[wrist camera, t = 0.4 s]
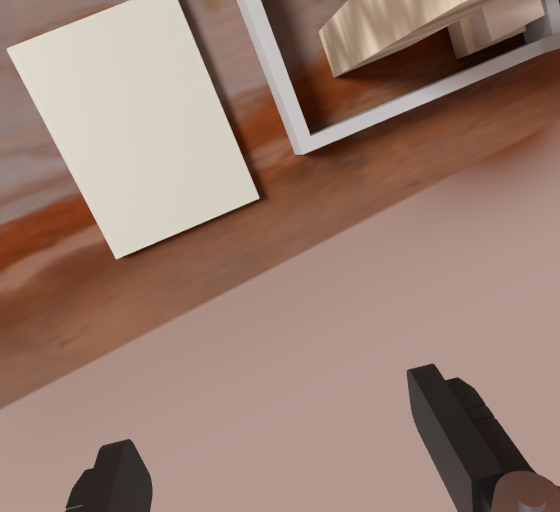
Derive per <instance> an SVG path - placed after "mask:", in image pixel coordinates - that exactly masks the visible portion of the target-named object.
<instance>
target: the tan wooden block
mask: <svg viewBox="0 0 560 512" xmlns="http://www.w3.org/2000/svg"><path fill="white" fill-rule="evenodd" d="M494 1H496V0H348V1H347V2H346V3H345V4H344V5H343V6H342V7H341V8H340V9H339V10H338V11H337V12H336V13H335V15H334V16H333V17H332V18H331V19H330V20H329V21H328V22H327V23H326V24H325V25H324V26H323V28H322V29H321V30H320V31H319V35H320V38H321V41H322V44H323V46H324V49H325V52H326V55H327V58H328V61H329V64H330V67H331V70H332V73H333V76H334V78H335V77H337V76H340V75H342V74H345V73H347V72H349V71H352V70H354V69H357V68H359V67H362V66H364V65H366V64H369V63H371V62H374V61H376V60H379V59H381V58H383V57H386V56H388V55H391V54H393V53H396V52H398V51H400V50H403V49H405V48H407V47H409V46H411V45H412V44H414V43H416V42H418V41H420V40H422V39H424V38H426V37H428V36H430V35H431V34H433V33H435V32H437V31H439V30H441V29H443V28H445V27H447V26H449V25H450V24H452V23H454V22H456V21H458V20H460V19H462V18H464V17H466V16H467V15H469V14H471V13H473V12H475V11H477V10H479V9H481V8H483V7H485V6H486V5H488V4H490V3H492V2H494Z"/></svg>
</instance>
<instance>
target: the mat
mask: <svg viewBox="0 0 560 512" xmlns="http://www.w3.org/2000/svg"><path fill="white" fill-rule="evenodd" d="M7 51H8V53H9V55H10V57H11V59H12V61H13V63H14V65H15V67H16V69H17V70H18V72H19V74H20V76H21V78H22V80H23V82H24V84H25V86H26V88H27V90H28V91H29V93H30V95H31V97H32V99H33V101H34V103H35V105H36V107H37V109H38V111H39V112H40V114H41V116H42V118H43V120H44V122H45V124H46V126H47V128H48V130H49V132H50V134H51V135H52V137H53V139H54V141H55V143H56V145H57V147H58V149H59V151H60V153H61V155H62V156H63V158H64V160H65V162H66V164H67V166H68V168H69V170H70V172H71V174H72V176H73V177H74V179H75V181H76V183H77V185H78V187H79V189H80V191H81V193H82V195H83V197H84V199H85V200H86V202H87V204H88V206H89V208H90V210H91V212H92V214H93V216H94V218H95V220H96V221H97V223H98V225H99V227H100V229H101V231H102V233H103V235H104V237H105V239H106V241H107V242H108V244H109V246H110V248H111V250H112V252H113V254H114V256H115V258H116V259H118V258H121V257H123V256H125V255H128V254H130V253H132V252H135V251H137V250H140V249H142V248H144V247H147V246H149V245H151V244H154V243H156V242H158V241H161V240H163V239H165V238H168V237H170V236H172V235H175V234H177V233H180V232H182V231H184V230H187V229H189V228H191V227H194V226H196V225H198V224H201V223H203V222H205V221H208V220H210V219H212V218H215V217H217V216H219V215H222V214H224V213H227V212H229V211H231V210H234V209H236V208H238V207H241V206H243V205H245V204H248V203H250V202H252V201H255V200H257V199H259V195H258V193H257V190H256V188H255V186H254V183H253V181H252V178H251V176H250V173H249V171H248V169H247V166H246V164H245V161H244V159H243V157H242V154H241V152H240V149H239V147H238V144H237V142H236V140H235V137H234V135H233V132H232V130H231V127H230V125H229V123H228V120H227V118H226V115H225V113H224V111H223V108H222V106H221V103H220V101H219V98H218V96H217V94H216V91H215V89H214V86H213V84H212V81H211V79H210V77H209V74H208V72H207V69H206V67H205V65H204V62H203V60H202V57H201V55H200V52H199V50H198V48H197V45H196V43H195V40H194V38H193V35H192V33H191V31H190V28H189V26H188V23H187V21H186V19H185V16H184V14H183V11H182V9H181V6H180V4H179V2H178V0H130V1H127V2H125V3H122V4H120V5H117V6H114V7H112V8H109V9H107V10H104V11H102V12H99V13H96V14H94V15H91V16H89V17H86V18H84V19H81V20H79V21H76V22H73V23H71V24H68V25H66V26H63V27H61V28H58V29H55V30H53V31H50V32H48V33H45V34H43V35H40V36H37V37H35V38H32V39H30V40H27V41H25V42H22V43H19V44H17V45H14V46H12V47H9V48H7Z"/></svg>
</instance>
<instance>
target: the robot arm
mask: <svg viewBox="0 0 560 512" xmlns="http://www.w3.org/2000/svg"><path fill="white" fill-rule="evenodd" d="M407 379H408V388H409V396H410V404H411V410H412V415H413V418H414V422H415V424H416V427H417V429H418V432H419V434H420V436H421V438H422V440H423V442H424V444H425V446H426V448H427V450H428V452H429V454H430V456H431V458H432V460H433V462H434V464H435V466H436V468H437V470H438V472H439V474H440V476H441V478H442V480H443V482H444V484H445V486H446V488H447V490H448V492H449V494H450V496H451V498H452V500H453V503H454V504H455V507H456V509H457V511H458V512H560V487H559V486H556V485H555V484H553V482H551V481H550V480H548V479H547V478H545V477H543V476H541V475H539V474H537V473H536V472H535V471H534V470H533V469H532V468H531V467H530V466H529V464H528V463H527V461H526V460H525V459H524V457H523V456H522V454H521V453H520V452H519V450H518V449H517V447H516V446H515V445H514V443H513V442H512V441H511V439H510V438H509V436H508V435H507V433H506V432H505V431H504V430H503V428H502V426H501V425H500V424H499V422H498V421H497V419H495V418H494V415H493V414H492V412H491V411H490V410H489V408H488V407H486V405H485V403H484V401H483V400H482V398H481V397H480V396H479V394H478V393H477V392H476V390H475V389H474V388H473V387H471V386H470V385H469V384H467V383H466V382H464V381H463V380H461V379H459V378H458V377H457V378H453V379H449V380H444V378H443V377H442V375H441V373H440V372H439V370H438V369H437V368H436V366H435V365H434V364H429V365H425V366H421V367H417V368H413V369H409V370H407ZM151 502H152V482H151V477H150V474H149V472H148V470H147V468H146V466H145V464H144V463H143V461H142V459H141V457H140V455H139V453H138V451H137V449H136V448H135V446H134V444H133V442H132V441H131V440H130V439H127V440H123V441H119V442H115V443H111V444H107V445H103V446H102V447H101V448H100V450H99V452H98V455H97V459H96V462H95V465H94V468H92V469H88V470H85V471H84V473H83V474H82V476H81V477H80V478H79V480H78V481H77V483H76V484H75V485H74V487H73V488H72V491H71V494H70V497H69V500H68V503H67V506H66V512H150V508H151Z"/></svg>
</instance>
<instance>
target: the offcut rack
mask: <svg viewBox="0 0 560 512" xmlns="http://www.w3.org/2000/svg"><path fill="white" fill-rule="evenodd" d="M237 3H238V5H239V8H240V11H241V13H242V16H243V18H244V21H245V24H246V26H247V29H248V32H249V34H250V37H251V40H252V42H253V45H254V47H255V50H256V53H257V55H258V58H259V61H260V63H261V66H262V68H263V71H264V74H265V76H266V79H267V82H268V84H269V87H270V89H271V92H272V95H273V97H274V100H275V103H276V105H277V108H278V111H279V113H280V116H281V118H282V121H283V124H284V126H285V129H286V132H287V134H288V137H289V139H290V142H291V145H292V147H293V150H294V153H295V154H296V155H303V154H306V153H308V152H310V151H313V150H315V149H318V148H320V147H322V146H325V145H327V144H329V143H332V142H334V141H337V140H339V139H341V138H344V137H346V136H348V135H351V134H353V133H355V132H358V131H360V130H363V129H365V128H367V127H370V126H372V125H374V124H377V123H379V122H382V121H384V120H386V119H389V118H391V117H393V116H396V115H398V114H401V113H403V112H405V111H408V110H410V109H412V108H415V107H417V106H420V105H422V104H424V103H427V102H429V101H431V100H434V99H436V98H439V97H441V96H443V95H446V94H448V93H450V92H453V91H455V90H458V89H460V88H462V87H465V86H467V85H469V84H472V83H474V82H477V81H479V80H481V79H484V78H486V77H488V76H491V75H493V74H495V73H498V72H500V71H503V70H505V69H507V68H510V67H512V66H514V65H517V64H519V63H522V62H524V61H526V60H529V59H531V58H533V57H536V56H538V55H541V54H543V53H546V52H549V51H553V50H556V49H559V48H560V5H559V0H541V3H542V6H543V10H544V14H545V15H544V16H542V17H540V18H538V19H536V20H534V21H532V22H530V23H528V24H526V25H525V28H526V31H524V32H523V34H524V39H525V43H526V44H524V45H522V46H520V47H517V48H515V49H513V50H510V51H508V52H505V53H503V54H501V55H498V56H496V57H493V58H491V59H489V60H486V61H484V62H481V63H479V64H477V65H474V66H472V67H470V68H467V69H465V70H462V71H460V72H458V73H455V74H453V75H450V76H448V77H446V78H443V79H441V80H439V81H436V82H434V83H431V84H429V85H427V86H424V87H422V88H419V89H417V90H415V91H412V92H410V93H407V94H405V95H403V96H400V97H398V98H396V99H393V100H391V101H388V102H386V103H384V104H381V105H379V106H376V107H374V108H372V109H369V110H367V111H365V112H362V113H360V114H357V115H355V116H353V117H350V118H348V119H345V120H343V121H341V122H338V123H336V124H333V125H331V126H329V127H326V128H324V129H322V130H319V131H317V132H314V133H312V134H310V133H309V130H308V128H307V125H306V122H305V119H304V117H303V114H302V111H301V108H300V106H299V103H298V100H297V98H296V95H295V92H294V89H293V87H292V84H291V81H290V78H289V76H288V73H287V70H286V68H285V65H284V62H283V59H282V57H281V54H280V51H279V48H278V46H277V43H276V40H275V38H274V35H273V32H272V29H271V27H270V24H269V21H268V18H267V16H266V13H265V10H264V8H263V5H262V2H261V0H237Z"/></svg>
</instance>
